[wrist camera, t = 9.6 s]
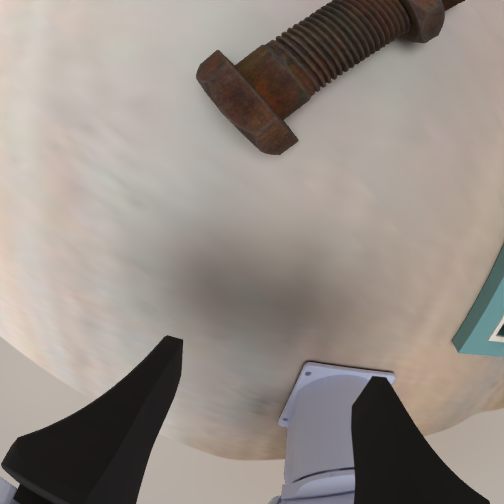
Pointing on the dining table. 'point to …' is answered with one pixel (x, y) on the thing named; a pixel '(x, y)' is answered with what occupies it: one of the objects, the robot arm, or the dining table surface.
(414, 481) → the robot arm
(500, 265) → the pin board
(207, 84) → the bolt
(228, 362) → the dining table surface
